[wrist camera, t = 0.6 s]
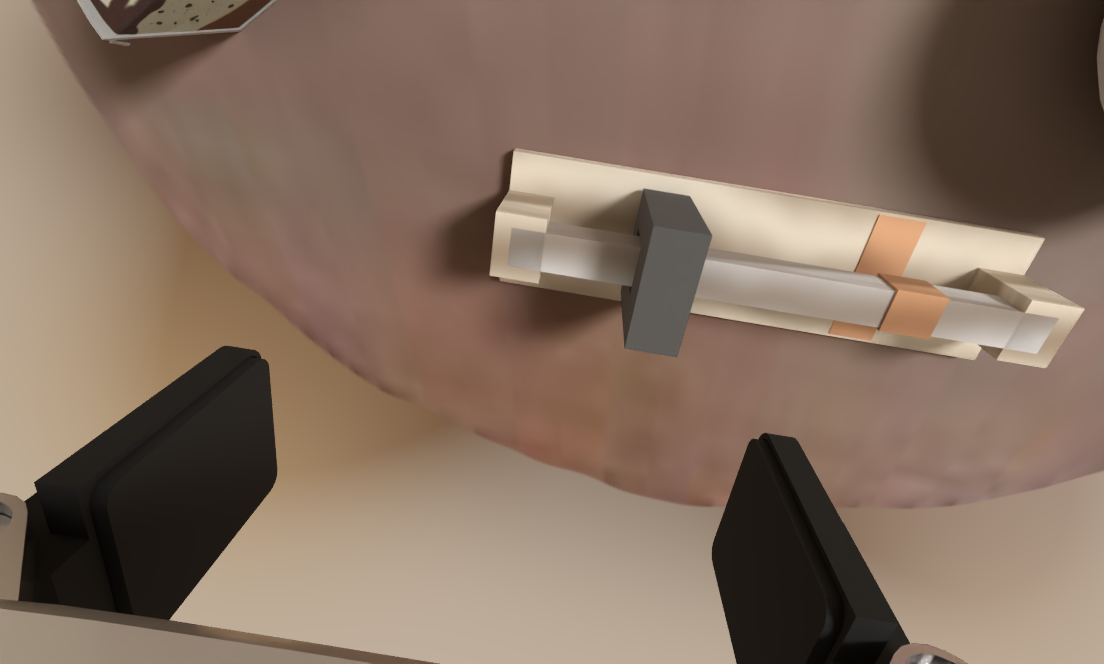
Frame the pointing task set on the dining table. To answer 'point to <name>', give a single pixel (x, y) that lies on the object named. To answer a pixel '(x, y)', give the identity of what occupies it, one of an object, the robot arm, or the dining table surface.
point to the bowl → (1101, 64)
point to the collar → (664, 272)
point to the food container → (169, 17)
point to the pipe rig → (788, 260)
